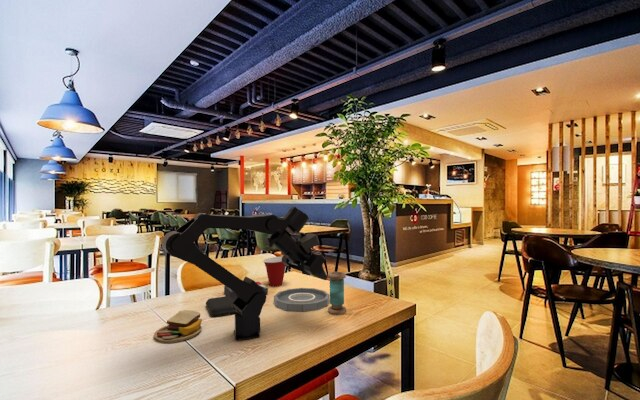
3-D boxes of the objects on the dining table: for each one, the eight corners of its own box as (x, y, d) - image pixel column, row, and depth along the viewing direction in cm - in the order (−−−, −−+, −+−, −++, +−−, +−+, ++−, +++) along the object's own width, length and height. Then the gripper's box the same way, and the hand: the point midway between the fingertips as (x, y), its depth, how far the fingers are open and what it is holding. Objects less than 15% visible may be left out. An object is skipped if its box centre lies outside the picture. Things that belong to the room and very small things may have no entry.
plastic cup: (261, 283, 148) (261, 256, 148) (284, 281, 151) (284, 255, 151) (264, 289, 137) (264, 261, 137) (289, 287, 141) (289, 259, 141)
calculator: (268, 286, 130) (230, 289, 122) (267, 297, 130) (230, 301, 122) (259, 280, 139) (224, 283, 132) (259, 290, 139) (223, 294, 132)
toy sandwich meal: (143, 339, 89) (143, 322, 89) (182, 322, 101) (181, 307, 101) (177, 347, 84) (176, 329, 84) (213, 328, 96) (213, 312, 96)
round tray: (281, 314, 107) (280, 306, 107) (270, 297, 126) (270, 290, 126) (336, 307, 114) (336, 300, 114) (318, 292, 132) (318, 286, 132)
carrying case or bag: (243, 314, 109) (234, 301, 122) (243, 305, 109) (234, 293, 122) (210, 319, 104) (205, 306, 117) (210, 310, 104) (205, 297, 117)
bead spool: (331, 316, 105) (331, 276, 105) (325, 310, 111) (325, 272, 111) (348, 313, 107) (348, 274, 107) (341, 308, 113) (341, 271, 113)
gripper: (320, 227, 94) (349, 261, 100) (289, 223, 110) (316, 253, 116) (296, 257, 90) (329, 290, 96) (268, 249, 105) (297, 278, 111)
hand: (318, 276), depth 105 cm, fingers open, 9 cm apart
